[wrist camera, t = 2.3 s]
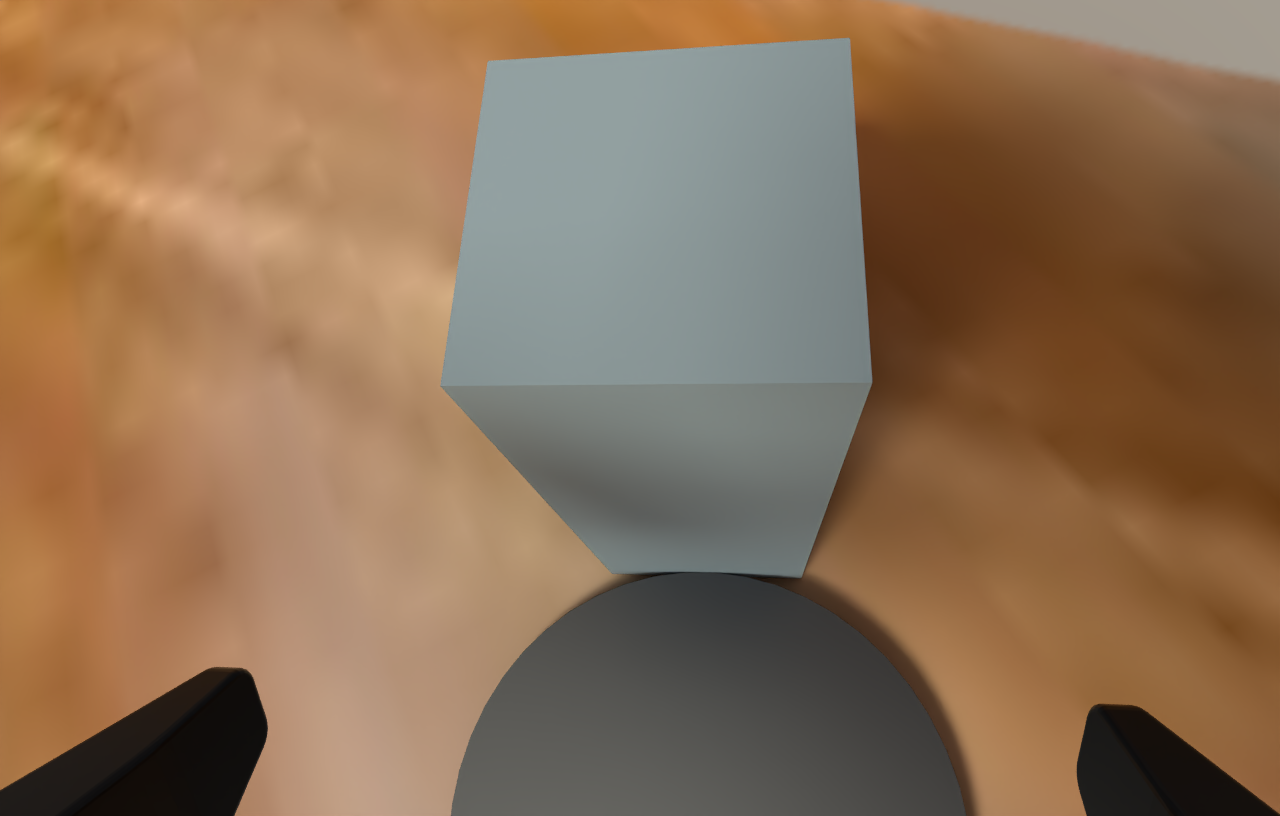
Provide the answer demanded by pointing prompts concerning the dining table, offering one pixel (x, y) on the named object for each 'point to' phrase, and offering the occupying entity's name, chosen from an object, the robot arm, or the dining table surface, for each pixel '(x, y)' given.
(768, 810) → the rubber mat
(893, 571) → the dining table surface
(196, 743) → the robot arm
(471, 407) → the painted block
